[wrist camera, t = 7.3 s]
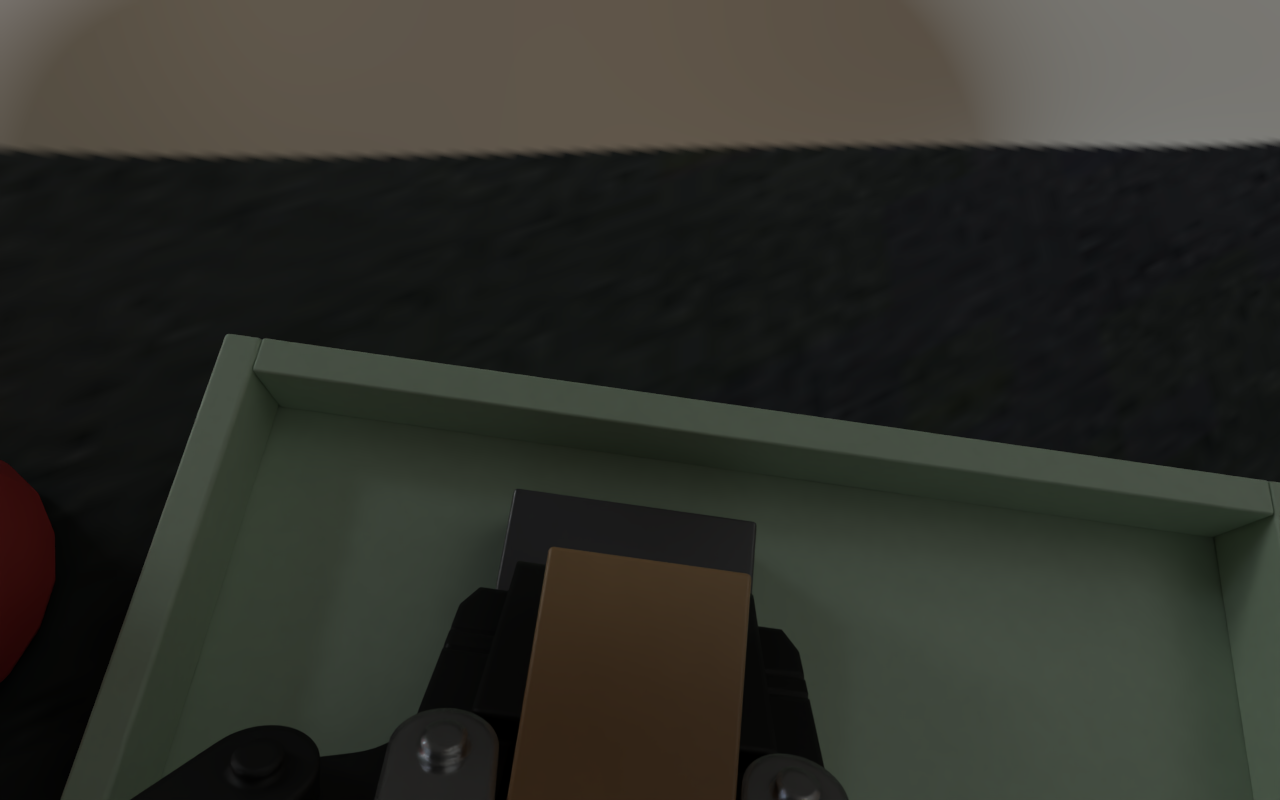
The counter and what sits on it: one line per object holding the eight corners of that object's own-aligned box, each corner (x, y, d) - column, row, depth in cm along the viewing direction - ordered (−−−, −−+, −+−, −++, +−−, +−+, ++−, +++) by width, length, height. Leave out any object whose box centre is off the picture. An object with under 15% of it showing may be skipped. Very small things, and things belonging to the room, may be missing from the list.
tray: (27, 1135, 15) (-91, 1213, 13) (268, 388, 21) (224, 331, 19) (1328, 1293, 16) (1487, 1400, 13) (1211, 521, 22) (1304, 485, 19)
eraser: (697, 1092, 16) (846, 1441, 7) (418, 1057, 15) (250, 1372, 7) (740, 545, 20) (865, 374, 11) (518, 514, 19) (484, 320, 11)
